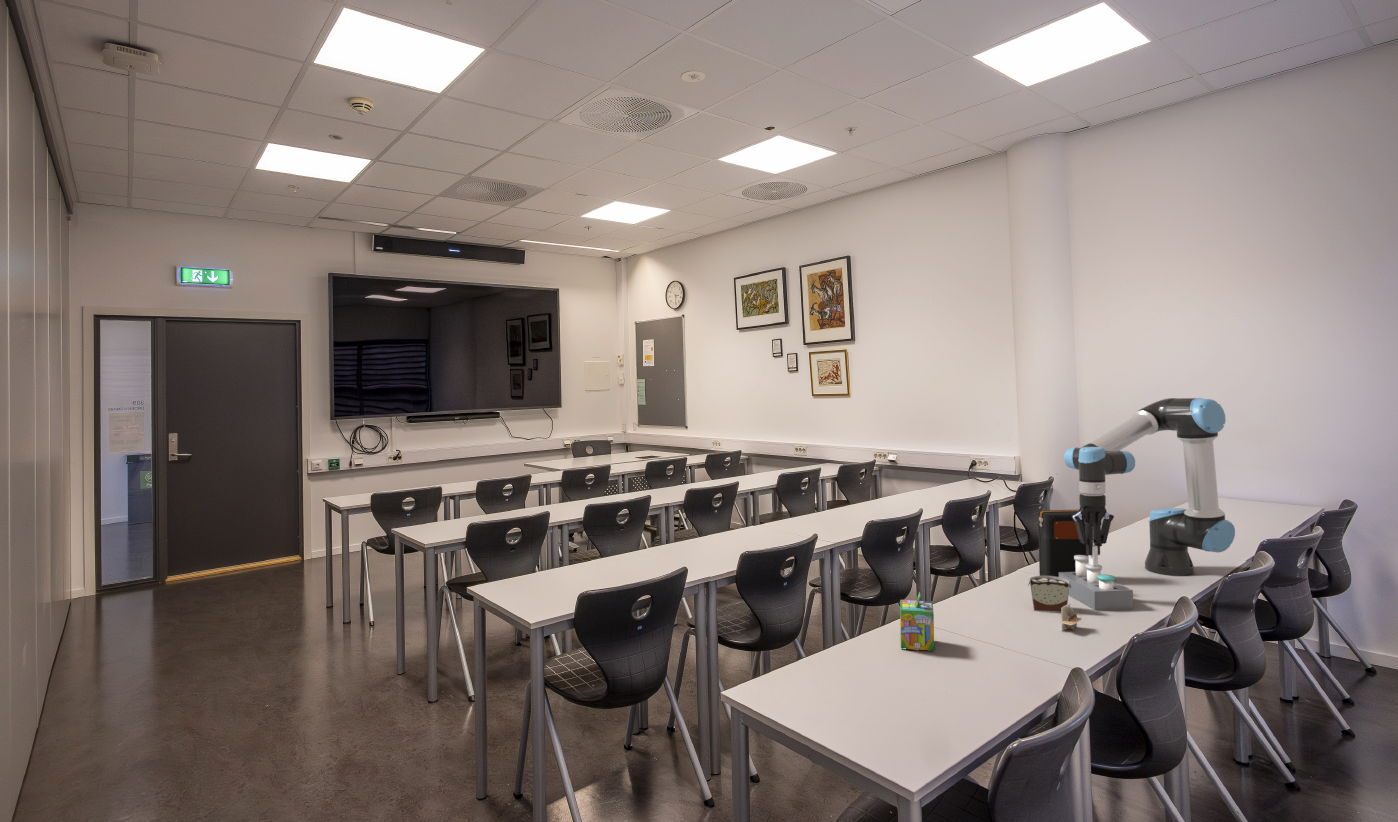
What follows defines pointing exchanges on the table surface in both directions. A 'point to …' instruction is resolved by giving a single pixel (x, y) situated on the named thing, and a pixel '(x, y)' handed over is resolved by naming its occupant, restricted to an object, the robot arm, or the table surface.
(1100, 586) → the teal plug
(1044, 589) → the food container
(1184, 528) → the robot arm
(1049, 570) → the voltmeter
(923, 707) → the table surface
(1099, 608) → the panel
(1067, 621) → the architectural model
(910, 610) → the chalk box
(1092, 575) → the grey plug middle
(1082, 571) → the grey plug end
